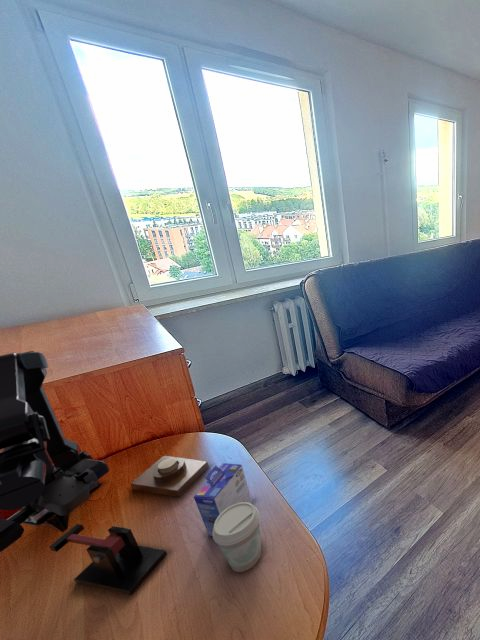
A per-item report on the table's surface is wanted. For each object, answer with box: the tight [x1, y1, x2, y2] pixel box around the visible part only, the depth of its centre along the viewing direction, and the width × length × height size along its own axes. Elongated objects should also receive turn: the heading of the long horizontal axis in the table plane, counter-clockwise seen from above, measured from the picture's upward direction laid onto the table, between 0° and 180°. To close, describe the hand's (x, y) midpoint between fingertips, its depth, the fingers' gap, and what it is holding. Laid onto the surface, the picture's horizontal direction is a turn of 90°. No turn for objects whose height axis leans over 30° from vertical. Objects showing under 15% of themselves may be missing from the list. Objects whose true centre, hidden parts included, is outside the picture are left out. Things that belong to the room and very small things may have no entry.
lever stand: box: [73, 525, 168, 596], centre depth 68 cm, size 13×8×9 cm, turn 81°
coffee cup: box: [212, 502, 262, 573], centre depth 69 cm, size 8×8×12 cm
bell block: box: [130, 455, 210, 498], centre depth 90 cm, size 14×10×4 cm
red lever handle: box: [49, 523, 125, 555], centre depth 67 cm, size 13×5×2 cm, turn 81°
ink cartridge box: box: [193, 462, 253, 537], centre depth 77 cm, size 10×6×14 cm, turn 174°
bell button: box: [158, 458, 178, 474], centre depth 89 cm, size 4×4×2 cm
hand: (63, 530), depth 68 cm, fingers closed
